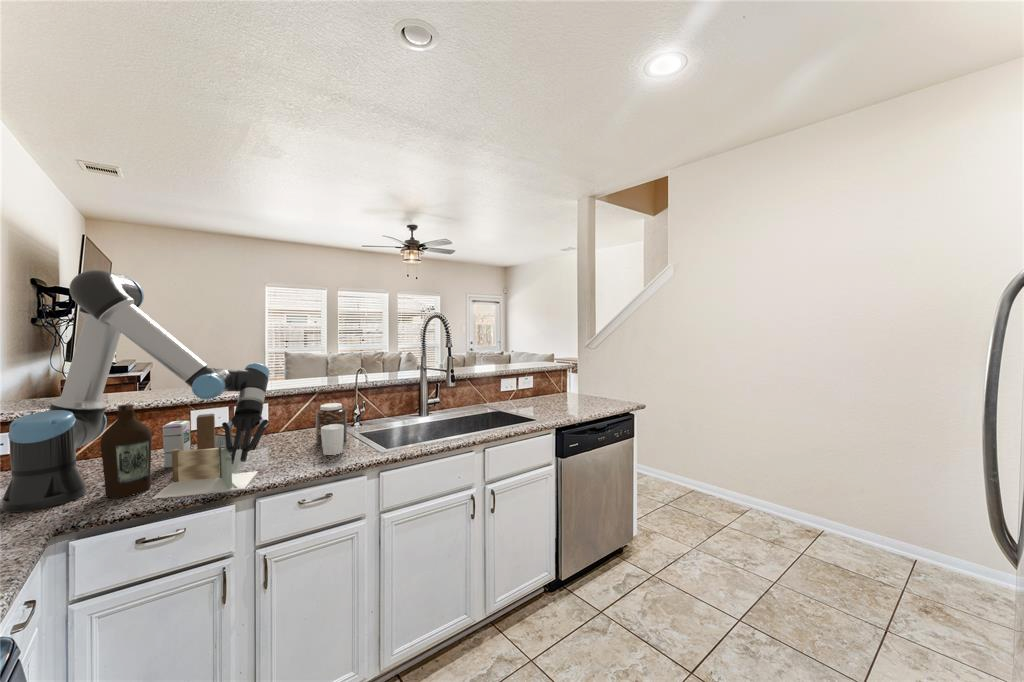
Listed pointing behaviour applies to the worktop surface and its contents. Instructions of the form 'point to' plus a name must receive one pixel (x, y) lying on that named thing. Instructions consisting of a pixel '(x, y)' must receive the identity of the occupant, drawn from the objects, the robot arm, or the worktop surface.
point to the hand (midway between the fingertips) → (236, 471)
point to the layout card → (206, 486)
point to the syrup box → (175, 439)
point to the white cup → (332, 439)
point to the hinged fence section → (226, 467)
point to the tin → (221, 440)
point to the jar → (330, 418)
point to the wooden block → (206, 431)
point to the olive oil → (126, 455)
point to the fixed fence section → (196, 464)
